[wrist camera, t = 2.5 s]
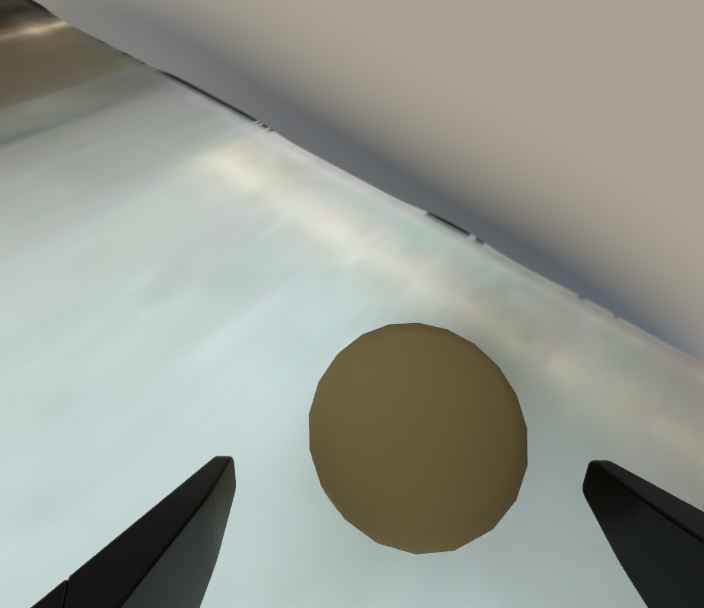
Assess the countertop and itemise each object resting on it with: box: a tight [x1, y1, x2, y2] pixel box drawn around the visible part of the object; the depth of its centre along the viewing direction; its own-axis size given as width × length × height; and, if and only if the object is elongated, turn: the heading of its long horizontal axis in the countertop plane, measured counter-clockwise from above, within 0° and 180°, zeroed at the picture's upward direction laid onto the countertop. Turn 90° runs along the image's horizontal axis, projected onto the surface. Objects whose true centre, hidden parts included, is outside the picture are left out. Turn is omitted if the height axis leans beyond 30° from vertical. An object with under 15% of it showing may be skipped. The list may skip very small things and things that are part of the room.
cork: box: [309, 323, 527, 554], centre depth 12 cm, size 6×6×11 cm
